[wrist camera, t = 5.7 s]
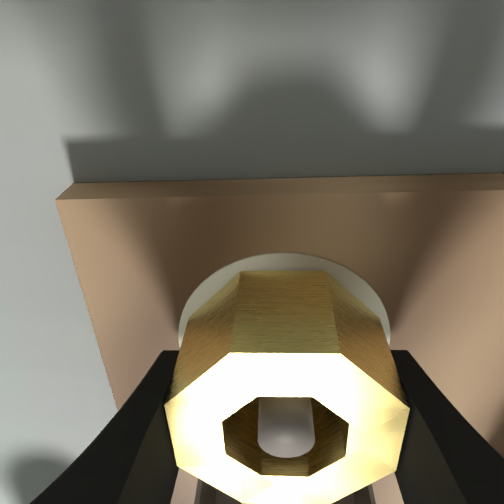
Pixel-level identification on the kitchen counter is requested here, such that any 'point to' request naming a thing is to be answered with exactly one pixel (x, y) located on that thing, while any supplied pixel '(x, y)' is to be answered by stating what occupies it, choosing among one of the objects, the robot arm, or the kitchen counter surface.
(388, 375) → the brass gear
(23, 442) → the kitchen counter surface
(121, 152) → the kitchen counter surface
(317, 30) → the kitchen counter surface
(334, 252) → the gear board
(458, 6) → the kitchen counter surface
